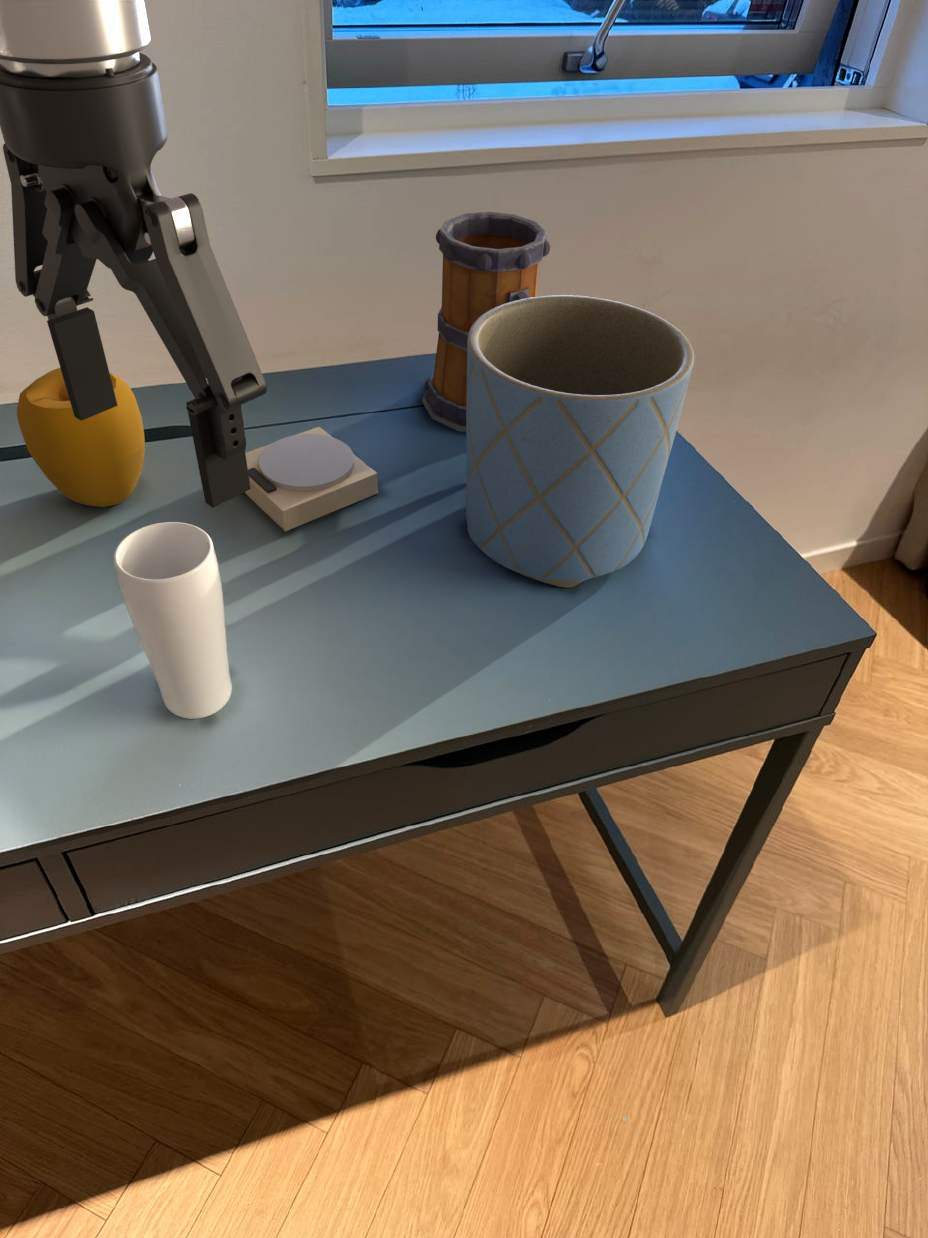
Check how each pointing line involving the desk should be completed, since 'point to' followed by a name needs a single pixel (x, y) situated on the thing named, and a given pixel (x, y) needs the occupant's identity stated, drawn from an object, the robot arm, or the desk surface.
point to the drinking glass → (178, 613)
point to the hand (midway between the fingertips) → (158, 451)
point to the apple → (83, 441)
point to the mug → (477, 294)
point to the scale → (307, 477)
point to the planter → (569, 432)
